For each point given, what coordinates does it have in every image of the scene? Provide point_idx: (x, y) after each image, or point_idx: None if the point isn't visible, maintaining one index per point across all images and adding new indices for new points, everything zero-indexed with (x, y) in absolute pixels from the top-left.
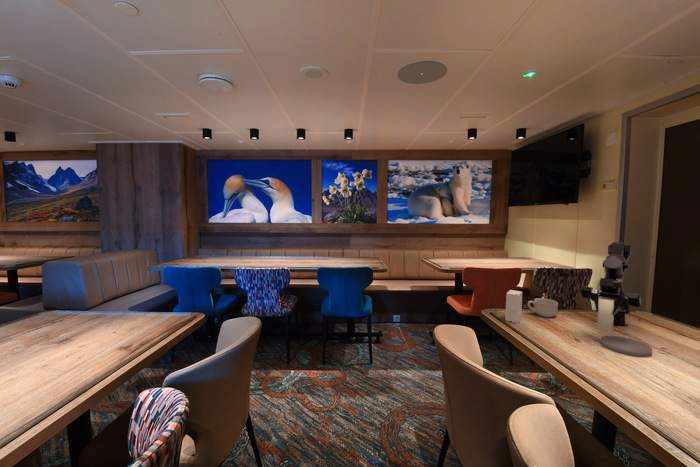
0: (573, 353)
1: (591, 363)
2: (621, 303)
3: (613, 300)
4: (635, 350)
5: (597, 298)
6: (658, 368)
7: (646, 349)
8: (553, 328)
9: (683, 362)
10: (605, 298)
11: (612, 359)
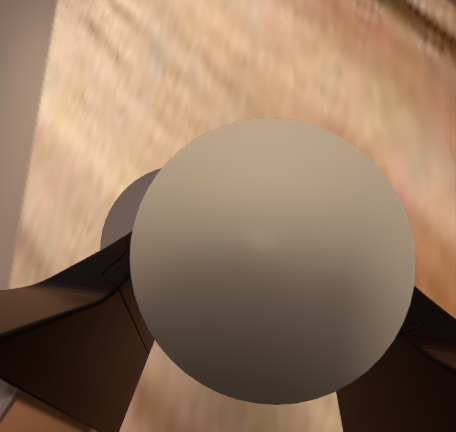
0: (320, 56)
1: (263, 15)
2: (54, 281)
3: (140, 234)
4: (150, 182)
5: (425, 343)
6: (107, 122)
7: (117, 224)
8: (450, 299)
9: (41, 233)
10: (287, 331)
11: (215, 96)
